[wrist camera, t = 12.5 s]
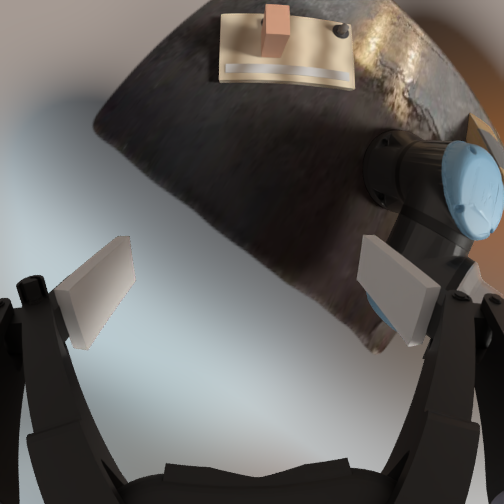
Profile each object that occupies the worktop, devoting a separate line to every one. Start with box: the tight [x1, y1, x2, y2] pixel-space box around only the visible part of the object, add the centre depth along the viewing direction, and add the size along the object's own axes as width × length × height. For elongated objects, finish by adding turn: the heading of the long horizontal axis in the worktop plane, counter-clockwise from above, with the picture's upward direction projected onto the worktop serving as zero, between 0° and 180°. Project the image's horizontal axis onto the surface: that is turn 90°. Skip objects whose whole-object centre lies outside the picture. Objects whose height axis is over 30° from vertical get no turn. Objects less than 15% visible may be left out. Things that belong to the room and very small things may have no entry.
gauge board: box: [219, 14, 355, 91], centre depth 36 cm, size 22×13×4 cm, turn 90°
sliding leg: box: [261, 4, 290, 58], centre depth 30 cm, size 3×8×10 cm, turn 0°
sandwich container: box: [466, 113, 504, 186], centre depth 37 cm, size 9×15×15 cm, turn 169°
